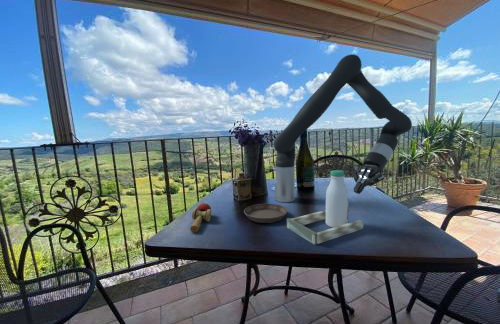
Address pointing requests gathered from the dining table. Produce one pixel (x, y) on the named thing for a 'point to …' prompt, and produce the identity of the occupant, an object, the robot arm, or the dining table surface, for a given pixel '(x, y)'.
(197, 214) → the kendama
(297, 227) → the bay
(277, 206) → the plant saucer
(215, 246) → the dining table surface
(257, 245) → the dining table surface
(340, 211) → the milk bottle
